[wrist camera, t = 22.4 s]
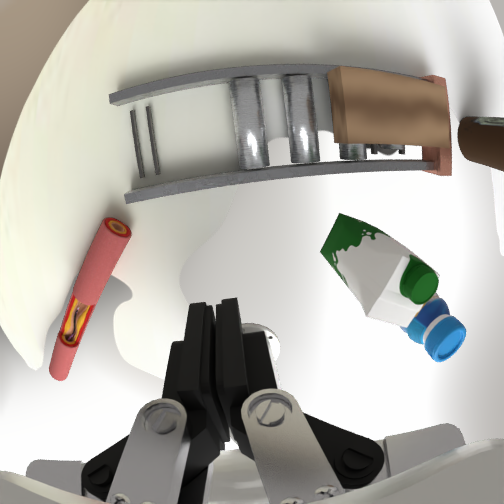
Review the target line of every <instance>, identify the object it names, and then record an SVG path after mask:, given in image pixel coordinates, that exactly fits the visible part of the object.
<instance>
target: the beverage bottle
mask: <svg viewBox="0 0 504 504" xmlns="http://www.w3.org/2000/svg"><path fill="white" fill-rule="evenodd" d="M400 328H401V329H402V330H403V331H404V332H406V333H408V336H409V338H410V339H412V340H413V341H414V342H416V343H419V344H424V347H425V350H426V351H427V352H428V354H429V355H430V356H431V357H432V359H433V360H435V361H436V362H442V361H445V360H447V359H448V358H450V357H451V356H452V355H453V354H454V353H455V352H456V351H457V350H458V349H459V348H460V346H461V345H462V342H463V341H464V339H465V336H466V329H465V327H464V325H463V324H462V323H461V322H460V321H459V320H457V319H456V318H455V317H454V316H451V315H450V313H449V309H448V306H447V304H446V302H445V301H444V300H443V299H442V298H439V296H438V294H437V293H436V292H435V294H434V295H433V297H432V298H431V299H430V300H429V301H428V302H426V303H424V304H423V306H422V308H421V309H420V311H419V312H417V313H416V315H415V316H414V318H413V319H412V321H411V322H410V324H409V325H408V327H407V328H406V327H402V326H400Z"/></svg>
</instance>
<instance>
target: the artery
mask: <svg viewBox="0 0 504 504" xmlns="http://www.w3.org/2000/svg"><path fill="white" fill-rule="evenodd" d="M131 234H132V233H131V230H130V229H129V228H128V226H126V225H125V224H123V223H122V222H121V221H119V220H117V219H115V218H110V217H109V218H105V219H104V220H103V221H102V223H101V225H100V227H99V229H98V232H97V234H96V236H95V238H94V240H93V242H92V244H91V247H90V249H89V251H88V253H87V256H86V258H85V260H84V263H83V265H82V267H81V270H80V272H79V275H78V277H77V280H76V283H75V285H74V288H73V293H72V295H71V298H70V301H69V304H68V307H67V309H66V313H65V316H64V319H63V322H62V326H61V328H60V331H59V333H58V336H57V339H56V343H55V346H54V350H53V354H52V358H51V362H50V366H49V372H50V374H51V376H52V377H53V378H54V379H56V380H58V381H63V380H65V379H66V378H67V376H68V373H69V370H70V367H71V365H72V362H73V359H74V357H75V354H76V351H77V348H78V346H79V344H80V341H81V339H82V336H83V334H84V331H85V329H86V326H87V324H88V322H89V319H90V317H91V315H92V313H93V310H94V308H95V306H96V304H97V302H98V300H99V297H100V295H101V293H102V291H103V289H104V287H105V285H106V283H107V281H108V279H109V277H110V275H111V273H112V271H113V269H114V267H115V265H116V263H117V261H118V260H119V258H120V256H121V254H122V252H123V250H124V248H125V247H126V245H127V243H128V241H129V239H130V238H131Z"/></svg>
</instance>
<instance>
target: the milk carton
mask: <svg viewBox="0 0 504 504" xmlns="http://www.w3.org/2000/svg"><path fill="white" fill-rule="evenodd" d="M320 252H321V254H322V255H323V256H324V257H325V259H326V260H327V261H328V262H329V264H330V265H331V266H332V267H333V269H334V270H335V271H336V272H337V274H338V275H339V276H340V277H341V279H342V280H343V281H344V283H345V284H346V285H347V286H348V288H349V289H350V290H351V292H352V293H353V294H354V295H355V297H356V298H357V299H358V301H359V302H360V303H361V305H362V307H363V310H364V312H365V314H366V317H370V318H373V319H377V320H380V321H384V322H387V323H391V324H395V325H398V326H402V327H406V328H407V327H408V325H409V324H410V322H411V321H412V319H413V318H414V316H415V315H416V313H417V312H419V311H420V309H421V308H422V306H423V304H424V303H426V302H428V301H429V300H430V299H431V298H432V297H433V295H434V294H435V292H436V290H437V287H438V283H439V280H438V278H439V276H440V275H439V274H438V273H437V272H436V271H435V270H433V269H432V268H431V267H430V266H429V265H427V264H426V263H425V262H424V261H423V260H421V259H420V258H419V257H418V256H416V255H415V254H414V253H413V252H411V251H410V250H409V249H407V248H406V247H405V246H403V245H402V244H400V243H399V242H398V241H396V240H394V239H393V238H391V237H390V236H388V235H387V234H386V233H384V232H383V231H381V230H380V229H378V228H376V227H374V226H371V225H370V224H368V223H366V222H363V221H361V220H358V219H355V218H352V217H349V216H347V215H343V214H341V213H339V215H338V217H337V219H336V221H335V224H334V225H333V228H332V229H331V231H330V233H329V235H328V237H327V239H326V241H325V243H324V245H323V247H322V249H321V251H320Z"/></svg>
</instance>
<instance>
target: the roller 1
mask: <svg viewBox="0 0 504 504" xmlns="http://www.w3.org/2000/svg"><path fill="white" fill-rule="evenodd" d="M229 88H230V95H231V103H232V111H233V119H234V127H235V135H236V142H237V150H238V158H239V166H240V169H252V168H261V167H266V166H269V165H270V164H269V156H268V146H267V137H266V128H265V120H264V112H263V104H262V96H261V88H260V81H259V79H258V78H241V79H236V80H233V81H230V82H229Z"/></svg>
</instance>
